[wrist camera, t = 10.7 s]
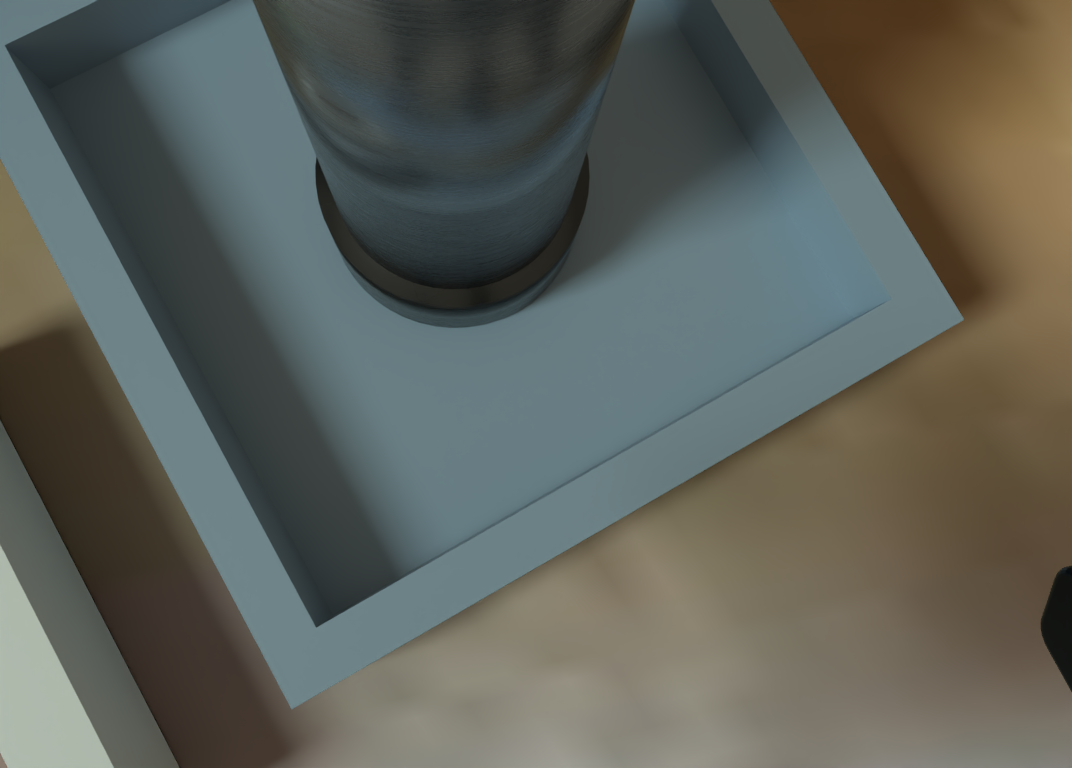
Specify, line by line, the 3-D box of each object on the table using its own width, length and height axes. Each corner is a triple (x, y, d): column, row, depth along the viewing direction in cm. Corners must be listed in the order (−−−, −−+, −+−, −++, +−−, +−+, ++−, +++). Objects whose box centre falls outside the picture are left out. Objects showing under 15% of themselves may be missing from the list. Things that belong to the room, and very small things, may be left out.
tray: (906, 341, 21) (964, 319, 18) (315, 682, 19) (291, 709, 17) (579, -201, 22) (591, -291, 19) (-4, 82, 20) (-71, 23, 18)
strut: (591, 315, 20) (777, 1, 8) (341, 339, 19) (142, 48, 8) (562, 81, 20) (693, -531, 9) (319, 100, 20) (107, -516, 8)
